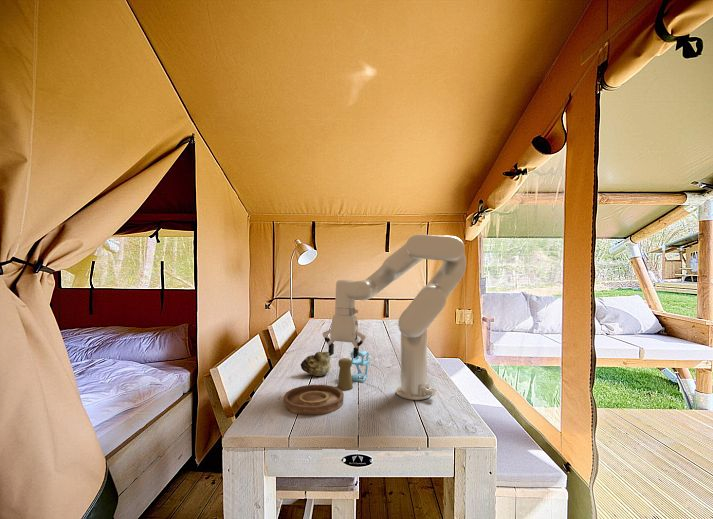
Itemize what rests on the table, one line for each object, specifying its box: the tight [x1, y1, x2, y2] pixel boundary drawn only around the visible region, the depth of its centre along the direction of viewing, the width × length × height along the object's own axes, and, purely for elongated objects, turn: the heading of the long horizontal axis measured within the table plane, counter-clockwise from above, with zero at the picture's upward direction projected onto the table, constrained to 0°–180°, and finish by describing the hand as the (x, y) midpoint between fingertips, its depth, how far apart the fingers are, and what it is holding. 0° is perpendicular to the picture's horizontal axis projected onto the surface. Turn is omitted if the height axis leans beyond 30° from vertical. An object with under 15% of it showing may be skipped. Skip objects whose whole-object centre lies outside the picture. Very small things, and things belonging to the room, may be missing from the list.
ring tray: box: [283, 384, 344, 416], centre depth 114 cm, size 20×20×2 cm
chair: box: [349, 350, 371, 383], centre depth 139 cm, size 8×8×12 cm
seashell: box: [300, 351, 332, 377], centre depth 143 cm, size 11×11×10 cm
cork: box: [336, 357, 354, 392], centre depth 128 cm, size 6×6×11 cm
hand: (343, 356), depth 128 cm, fingers open, 9 cm apart
